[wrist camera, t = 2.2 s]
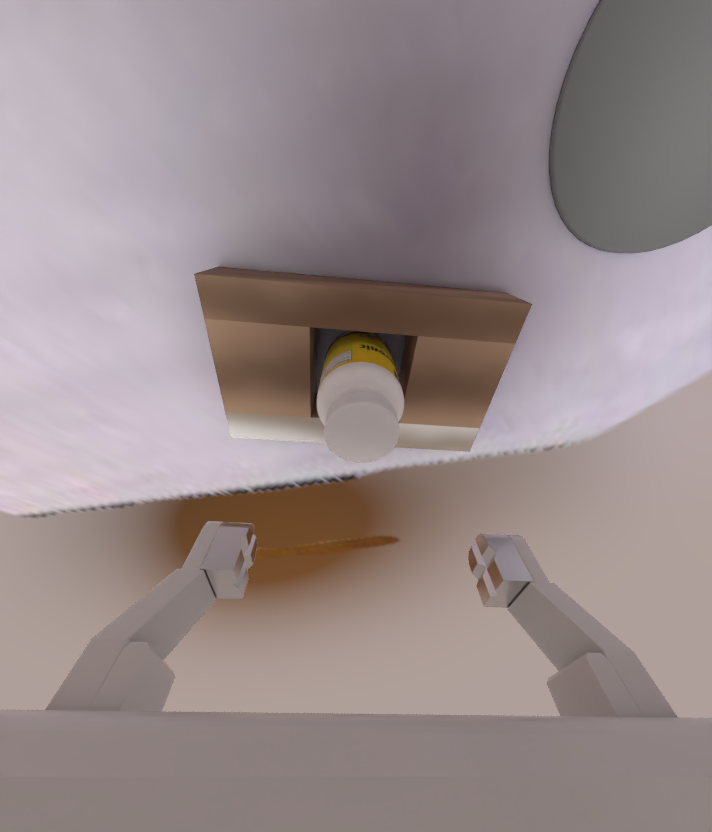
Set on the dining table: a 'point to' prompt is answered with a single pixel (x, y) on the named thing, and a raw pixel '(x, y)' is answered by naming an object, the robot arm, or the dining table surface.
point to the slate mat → (636, 127)
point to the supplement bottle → (360, 398)
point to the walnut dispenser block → (356, 311)
